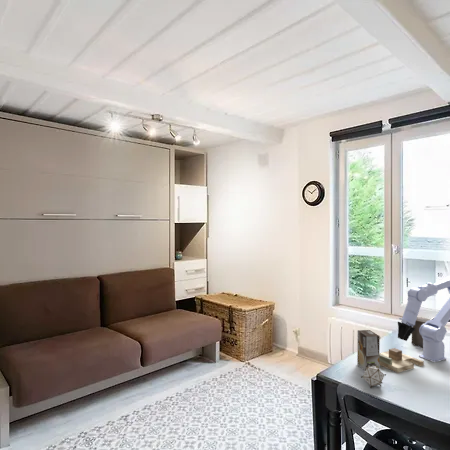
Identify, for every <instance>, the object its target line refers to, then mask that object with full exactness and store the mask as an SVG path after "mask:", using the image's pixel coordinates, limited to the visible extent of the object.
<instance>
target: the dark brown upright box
mask: <svg viewBox="0 0 450 450" xmlns="http://www.w3.org/2000/svg"><path fill="white" fill-rule="evenodd" d="M429 320H431V319H430V318H427V317H422V316H421V317H419V316H417V319H416V322H415V325H413V327H412V328H415V331H413V332H412V334H411V344H412V345H414V346H417V347H420V348H423V338H422V335H421V334H420V332H419V329H420V327H421V325H423V324H425V323H426V321H429Z"/></svg>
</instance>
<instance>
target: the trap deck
mask: <svg viewBox="0 0 450 450" xmlns="http://www.w3.org/2000/svg"><path fill="white" fill-rule="evenodd" d="M415 365H416V366H419V367H424V366H425V362H424V360H421V359H419V358H417V357H416V358H415V357H412V356H411V355H408V354H405V353H403V352H402V359H401V360H397V361H396V360H393V359H391V358H389V350H387V351H383V352H379V366H381V367H383V368H386V369H387V370H391V371H392V372H395V373H403V372H406V371H410V370H413V369H415Z"/></svg>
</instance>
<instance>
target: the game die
mask: <svg viewBox="0 0 450 450" xmlns="http://www.w3.org/2000/svg"><path fill="white" fill-rule="evenodd" d="M366 367H367V366H366ZM385 376H387V374H384V373H383V371H382V370H380V368H379V369H378V368H377V367H376V364H375V366H371V367H367V368H366V369H365V371H364V373H363V375H361V376H360V378H363V379H364V380H365V381H366V382H367V384H368V385H369V386H370V389H372V387H375V386H380V387H382V384H383V379H384V378H385Z"/></svg>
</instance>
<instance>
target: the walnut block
mask: <svg viewBox="0 0 450 450" xmlns="http://www.w3.org/2000/svg"><path fill="white" fill-rule="evenodd" d="M388 351H389V358H391V359H393V360H396V361H397V360H401V359H402V353H403V350H401V349H398V348H396V347H394V348H389V349H388Z"/></svg>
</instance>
